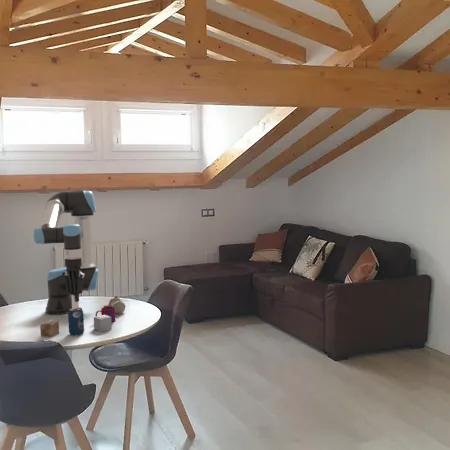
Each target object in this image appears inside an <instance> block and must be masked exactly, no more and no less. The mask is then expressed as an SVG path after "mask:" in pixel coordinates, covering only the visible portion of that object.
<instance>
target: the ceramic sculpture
mask: <svg viewBox="0 0 450 450" xmlns="http://www.w3.org/2000/svg"><path fill="white" fill-rule="evenodd" d="M109 306H111V307H115V315H116V314H118V315H119V314H122V313H124V312H125V309H126V304H125V303H124V302H123V301H122V299H121V298H119V296H114V297H113V298H111V299H110V300H109V301H108V304H107V305H103V307H109Z"/></svg>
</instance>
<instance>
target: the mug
mask: <svg viewBox="0 0 450 450" xmlns="http://www.w3.org/2000/svg"><path fill="white" fill-rule="evenodd" d="M99 312H100V313H101V315H107V316H110V317H111V324H112V323H114V322H116V313H115V307H111V306H109V307H104V306H103V307H101V308H100V310H97V311H96V312H95V317H96V316H98V313H99Z"/></svg>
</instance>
